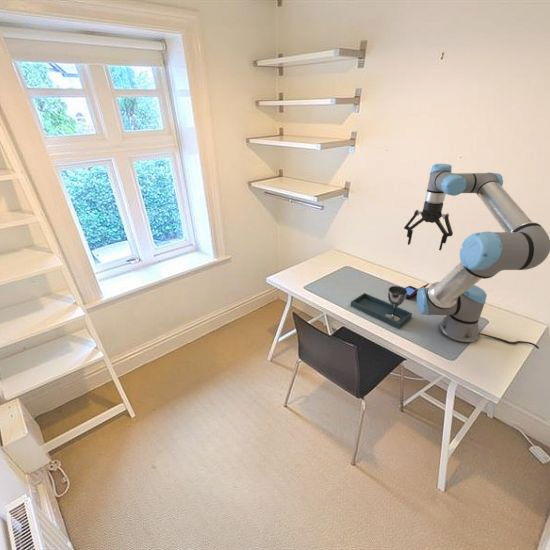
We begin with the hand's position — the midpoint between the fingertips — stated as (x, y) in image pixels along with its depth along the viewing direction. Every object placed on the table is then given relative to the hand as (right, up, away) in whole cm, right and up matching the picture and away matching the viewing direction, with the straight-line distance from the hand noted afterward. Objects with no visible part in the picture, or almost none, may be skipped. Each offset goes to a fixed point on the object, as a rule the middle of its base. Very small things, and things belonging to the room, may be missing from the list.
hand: (424, 246), depth 146 cm
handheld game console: (+5, -24, +25) cm, 35 cm away
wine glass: (-13, -34, +6) cm, 37 cm away
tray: (-17, -32, +11) cm, 38 cm away
